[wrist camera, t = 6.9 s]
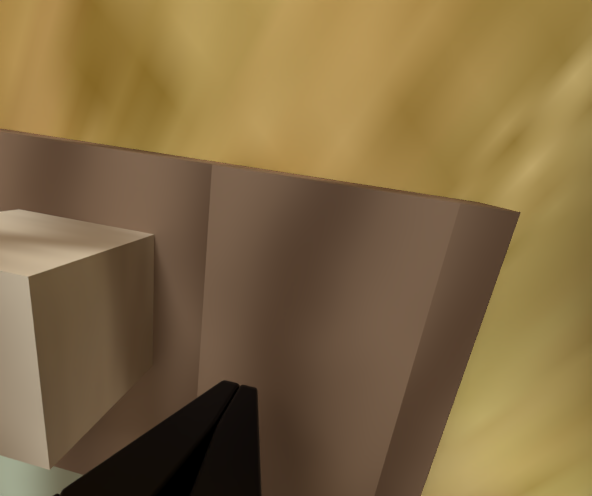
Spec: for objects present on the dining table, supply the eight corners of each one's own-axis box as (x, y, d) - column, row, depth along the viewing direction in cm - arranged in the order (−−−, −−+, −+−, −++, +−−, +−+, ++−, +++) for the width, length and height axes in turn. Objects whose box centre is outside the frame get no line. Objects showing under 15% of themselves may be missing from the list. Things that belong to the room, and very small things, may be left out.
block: (154, 234, 10) (28, 276, 6) (152, 365, 11) (49, 469, 7) (19, 209, 10) (-177, 232, 6) (33, 337, 12) (-121, 419, 8)
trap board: (479, 202, 10) (520, 212, 8) (346, 629, 17) (346, 705, 14) (-158, 104, 13) (-269, 89, 11) (-60, 496, 20) (-116, 541, 17)
